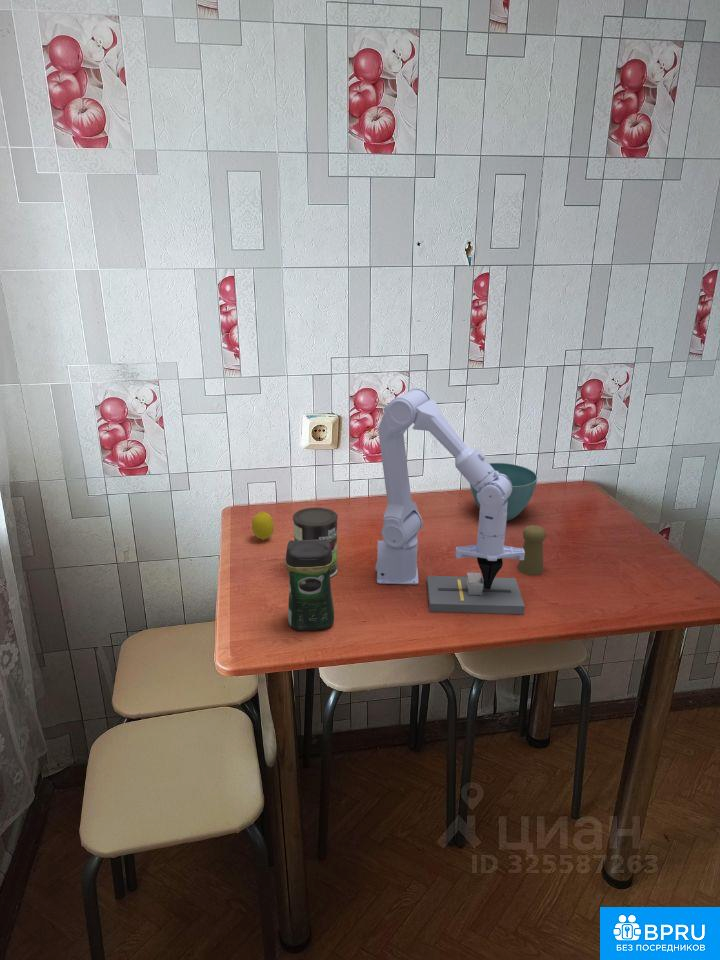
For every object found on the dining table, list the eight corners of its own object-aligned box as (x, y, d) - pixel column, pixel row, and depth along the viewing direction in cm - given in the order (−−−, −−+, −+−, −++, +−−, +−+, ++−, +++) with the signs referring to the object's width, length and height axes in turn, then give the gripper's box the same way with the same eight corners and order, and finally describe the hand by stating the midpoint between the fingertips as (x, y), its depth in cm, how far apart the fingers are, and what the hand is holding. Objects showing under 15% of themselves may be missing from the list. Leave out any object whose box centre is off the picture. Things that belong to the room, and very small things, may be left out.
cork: (525, 577, 168) (529, 534, 164) (513, 564, 174) (517, 523, 170) (548, 573, 170) (553, 531, 166) (535, 561, 175) (540, 520, 171)
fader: (468, 594, 157) (469, 582, 156) (466, 584, 161) (467, 572, 160) (482, 595, 157) (483, 582, 155) (479, 584, 161) (480, 572, 159)
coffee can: (346, 568, 172) (346, 514, 167) (318, 585, 164) (317, 529, 159) (313, 555, 178) (312, 503, 172) (285, 571, 170) (283, 517, 165)
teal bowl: (472, 498, 211) (475, 459, 207) (536, 506, 206) (540, 466, 202) (461, 523, 195) (463, 481, 191) (529, 533, 190) (533, 490, 186)
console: (429, 611, 154) (430, 603, 153) (427, 583, 165) (427, 575, 165) (523, 614, 154) (524, 605, 153) (514, 585, 165) (515, 577, 164)
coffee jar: (332, 610, 154) (332, 532, 148) (335, 631, 147) (334, 550, 140) (287, 612, 154) (284, 533, 147) (287, 633, 146) (284, 552, 139)
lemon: (248, 543, 184) (247, 514, 181) (258, 534, 189) (257, 506, 186) (268, 546, 182) (267, 517, 179) (277, 537, 187) (276, 508, 184)
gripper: (459, 538, 150) (455, 595, 155) (529, 540, 149) (523, 597, 154) (456, 524, 156) (452, 578, 161) (523, 525, 156) (517, 580, 161)
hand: (486, 586), depth 158 cm, fingers closed
